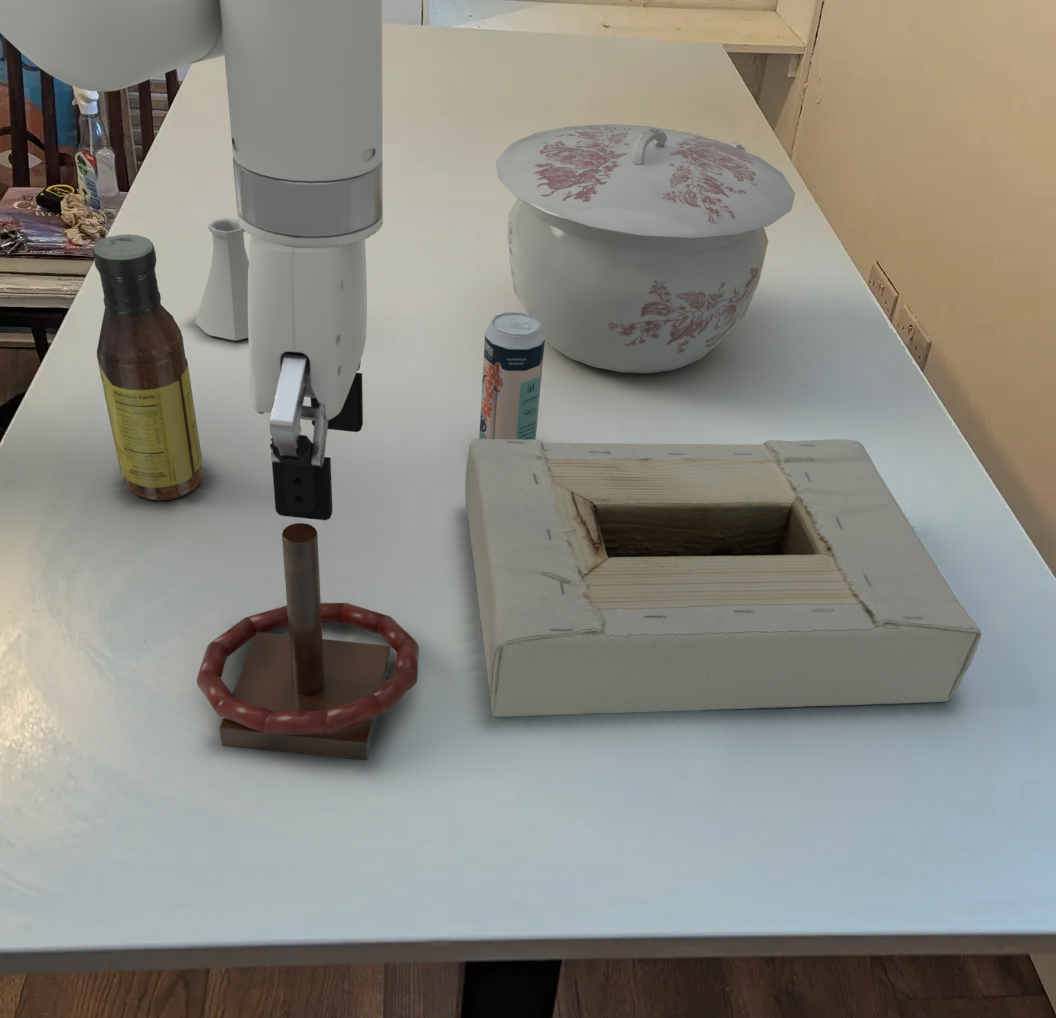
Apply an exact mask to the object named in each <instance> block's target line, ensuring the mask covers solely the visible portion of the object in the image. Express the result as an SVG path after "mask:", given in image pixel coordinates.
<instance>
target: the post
mask: <svg viewBox="0 0 1056 1018" xmlns="http://www.w3.org/2000/svg"><path fill="white" fill-rule="evenodd" d="M318 535H319V534H318V530H317V528H316V527H315V526H313V525H311V524H309V523H306V522H305V523H304V522H296V523H291V524H289V525H287V526H286V527H284V528H283V530H282V532H281V541H282V542H281V543H282V555H283V556H282V557H283V569H284V583H285V584H284V585H285V599H286V606H287V613H288V634H278V633H271V632H268V633H261V632H256V634H255V637H253V638H252V639H253V640H252V642H251V645H250V648H249V650H248V653H247V655H246V657H245V660H244V662H243V665H242V668H241V671H240V672H239V673H240V674H239V675H238V678H237V680H236V683H235V687H234V689H233V692H232V694H233V695H234V697H235V698H237V699H240V700H243V701H246V702H249V703H252V704H254V705H257V706H260V707H263V708H266V709H268V710H271V711H326V710H329V709H332V708H335V707H338V706H341V705H344V704H347V703H350V702H352V701H355V700H358V699H361V698H364V697H367V696H370V695H372V694H373V693H374V692H375V691H376V690H377V689H378V688H380V687H381V686H382V685H383V684H384V683H385V682H386V681H387V678H388V674H389V670H390V666H391V646H390V645H388V644H387V645H384V644H378V643H377V644H375V643H365V642H359V641H357V642H356V641H347V640H337V639H327V638H323V623H322V617H321V603H322V601H321V599H322V598H321V580H320V579H321V577H320V559H319V558H320V557H319V536H318ZM377 719H378V717H377V718H374V719H371V720H368V721H365V722H362V723H359V724H357V725H354V726H351V727H348V728H345V729H342V730H339V731H337V732H334V733H331V734H299V735H268V734H265V733H262V732H260V731H257V730H254V729H252V728H249V727H246V726H243V725H241V724H238V723H235V722H232V721H230V720H227V719H224V718H222V720H221V723H220V725H219V728H218V729H219V736H220V737H219V738H220V743H221V746H228V747H237V748H239V747H240V748H246V749H254V750H255V749H257V750H267V751H275V752H285V753H295V754H304V755H315V756H322V757H323V756H324V757H333V758H334V757H335V758H343V759H353V760H362V761H367V760H368V758H369V753H370V749H371V745H372V740H373V735H374V731H375V727H376V723H377Z"/></svg>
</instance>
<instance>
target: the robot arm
mask: <svg viewBox="0 0 1056 1018" xmlns="http://www.w3.org/2000/svg"><path fill="white" fill-rule="evenodd" d="M0 34H1V35H2V36H3V37H4V38H5V39H6V40H7V42H9V43H10V44H12V46H13V47H14V48H15V49H16V50H17V51H19V52H20V53H21V54H22V55H23V56H25V58H27V59H29V61H30V62H32V63H33V64H34V65H36V67H38V68H39V69H41V70H42V71H44V72H45V73H47V74H48V75H50V76H52V77H53V78H55V79H57V80H58V81H60V82H62V83H63V84H66V85H68V86H71V87H74V88H77V89H79V90H84V91H89V92H113V91H114V92H116V91H120V90H123V89H127V88H128V87H132V86H136V85H139V84H141V83H144V82H146V81H149V80H151V79H154V78H156V77H158V76H161V75H164V74H166V73H168V72H172V71H174V70H176V69H179V68H181V67H184V66H188V65H192V64H197V63H200V62H204V61H208V60H213V59H217V58H220V57H224V64H225V77H226V88H227V99H228V112H229V113H228V114H229V125H230V137H231V147H232V148H231V149H232V164H233V177H234V191H235V200H236V202H235V203H236V211H237V212H236V213H237V220H238V222H239V224H240V226H241V227H242V228H243V229H244V230H245V232H246V233H247V234H249V235H250V242H249V250H248V251H249V252H248V253H249V254H248V261H249V266H248V337H249V338H248V363H249V388H250V389H249V390H250V404H251V407H252V409H253V410H254V412H255V413H257V414H260V415H263V414H265V413H267V414H270V419H269V433H270V435H271V438H270V441H271V443H270V444H269V448H270V460H271V464H272V465H271V468H272V481H273V495H274V496H273V497H274V507H275V512H276V514H278V515H279V516H281V517H290V518H298V519H309V520H318V521H328V520H330V519H331V518H332V515H333V512H334V511H333V487H332V486H333V485H332V483H333V482H332V459H331V457H329V456H326V446H327V437H328V430H331V431H333V430H334V431H342V432H351V433H359V432H360V431H361V430H362V428H363V425H364V406H363V404H364V399H363V398H364V397H363V373H362V372H359V371H360V369H361V362H362V358H363V354H364V350H365V345H366V338H367V326H368V325H367V323H368V322H367V320H368V287H367V286H368V285H367V284H368V282H367V281H368V277H367V253H366V252H367V251H366V240H367V239H369V238H370V237H371V236H372V235H376V234H377V233H378V232H379V231H380V230H381V228H382V226H383V224H384V212H383V211H384V195H383V194H384V192H383V191H384V189H383V188H384V187H383V185H384V184H383V183H384V182H383V181H384V178H383V177H384V175H383V174H384V173H383V171H384V170H383V169H384V167H383V163H384V162H383V161H384V159H383V0H0ZM305 398H310V406H309V405H304V400H305ZM301 420H302V421H303V420H304V421H311V425H312V426H313V435H312V440H310V438H309V437H308V435H306V434H301V433H302V427H301Z"/></svg>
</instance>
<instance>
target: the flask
mask: <svg viewBox="0 0 1056 1018" xmlns="http://www.w3.org/2000/svg"><path fill="white" fill-rule="evenodd" d="M207 228H208V230H209V232H210V233H211V235H212V245H213V248H212V256H211V257H212V258H211V266H210V269H209V273H208V276H207V277H208V278H207V281H206V284H205V288H204V292H203V295H202V297H201V300H200V301H201V302H200V305H199V307H198V310H197V313H196V317H195V321H194V323H195V324H196V325H197V326H198V327H199V328H200V329H201V330H202V331H203V332H204V333H206V335H207V336H211V337H216V338H222V339H226V340H230V341H235V342H236V341H241V340H244V339H249V337H248V266H249V256H248V255H247V254H248V253H247V250H246V247H245V238H244V233H245V232H246V231H245V230H244V229H243V228H242V227H241V226H240V224H239V222H238V219H234V218H231V217H230V218H229V217H227V218H226V217H225V218H220V219H214V221H212V222H211V223H209V224H208V225H207Z"/></svg>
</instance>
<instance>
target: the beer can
mask: <svg viewBox="0 0 1056 1018" xmlns="http://www.w3.org/2000/svg"><path fill="white" fill-rule="evenodd" d="M545 342H546V341H545V333H544V331H543V329H542V327H541V323H540V322H539V321H538V320H537V319H536V318H535V317H533V316H530V315H527V314H526V313H523V312H512V311H511V312H510V311H509V312H507V311H505V312H503V313H500V314H497V315H494V316H493V318H492V320H491V322H490V324H489V325H488V326H486V329H485V332H484V345H483V347H484V349H483V365H482V366H483V367H482V380H481V381H482V382H481V383H482V384H481V400H480V401H481V402H480V416H479V417H480V418H479V419H480V420H479V436H478V437H479V439H522V440H527V439H528V440H531V439H533V440H537V439H536V438H537V430H538V429H537V427H538V418H539V406H540V395H541V386H542V385H541V384H542V373H543V362H544V352H545ZM479 439H478V440H479Z"/></svg>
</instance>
